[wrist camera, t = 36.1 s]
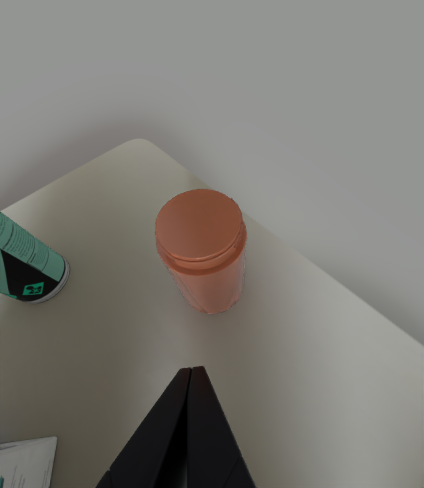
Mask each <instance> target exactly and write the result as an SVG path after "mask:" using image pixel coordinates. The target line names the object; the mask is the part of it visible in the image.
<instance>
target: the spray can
mask: <svg viewBox="0 0 424 488" xmlns="http://www.w3.org/2000/svg"><path fill="white" fill-rule="evenodd" d="M69 272H70V268H69V264H68V262H67V261H66V260H65V259H64V258H63V257H62V256H60V255H59V254H58V253H56V252H55V251H54V250H52V249H51V248H49V247H48V246H47V245H45V244H44V243H43V242H41V241H40V240H38V239H37V238H36V237H34V236H33V235H32V234H30V233H29V232H28V231H26V230H25V229H23V228H22V227H21V226H19V225H18V224H17V223H15V222H14V221H12V220H11V219H10V218H8V217H7V216H6V215H4V214H3V213H1V212H0V293H2V294H5V295H7V296H10V297H12V298H15V299H17V300H20V301H23V302H26V303H30V304H36V303H41V302H43V301H46V300H48V299H50V298H52V297H53V296H54V295H56V294H57V293H58V292H59V291H60V290H61V289H62V287H63V286H64V285H65V283H66V281H67V279H68V277H69Z"/></svg>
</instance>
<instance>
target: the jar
mask: <svg viewBox="0 0 424 488" xmlns="http://www.w3.org/2000/svg"><path fill="white" fill-rule="evenodd" d="M155 234H156V245H157V250H158V253H159V256H160V258H161V259H162V261H163V263H164V264H165V266H166V268H167V269H168V271H169V273H170V274H171V276H172V278H173V279H174V281H175V283H176V284H177V286H178V288H179V289H180V291H181V293H182V294H183V296H184V298H185V299H186V301H187V302H188V303H189V305H190V306H192V307H193V308H194V309H196V310H198V311H200V312H203V313H208V314H214V313H220V312H223V311H226V310H227V309H229V308H231V307H232V306H233V305H234V304H235V303H236V302H237V301H238V299H239V298H240V296H241V293H242V290H243V283H244V269H245V255H246V241H247V231H246V226H245V224H244V221H243V219H242V213H241V211H240V209H239V207H238V205H237V204H236V203H235V202H234V200H232V199H230V198H229V197H228V196H226V195H224V194H222V193H220V192H218V191H214V190H209V189H196V190H190V191H187V192H184V193H181V194H179V195H177V196H175V197H174V198H172V199H171V200H169V201H168V202H167V203H166V204H165V205H164V206H163V208H162V209H161V210H160V212H159V214H158V216H157V219H156V225H155Z"/></svg>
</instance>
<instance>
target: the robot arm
mask: <svg viewBox="0 0 424 488" xmlns="http://www.w3.org/2000/svg"><path fill="white" fill-rule="evenodd" d="M109 469H110V471H109V470H108V471H107V472H106V473H105V474H104V476H103V477H102V479H101V480H100V481H99V483H98V484H97V486H96V487H95V488H256V486H255V483H254V481H253V479H252V477H251V475H250V473H249V470H248V468H247V466H246V463H245V461H244V459H243V457H242V454H241V452H240V450H239V447H238V445H237V442H236V440H235V438H234V435H233V433H232V431H231V428H230V426H229V424H228V421H227V419H226V417H225V414H224V412H223V410H222V407H221V405H220V403H219V400H218V398H217V396H216V393H215V391H214V388H213V386H212V384H211V381H210V379H209V377H208V374H207V372H206V370H205V367H204V366H198V367H193V368H182V369H180V370H179V371H178V372H177V374H176V375H175V377H174V378H173V379H172V381H171V382H170V384H169V385H168V386H167V388H166V389H165V391H164V392H163V393H162V395H161V396H160V398H159V399H158V400H157V402H156V403H155V405H154V406H153V407H152V409H151V410H150V412H149V413H148V414H147V416H146V417H145V419H144V420H143V421H142V423H141V424H140V426H139V427H138V428H137V430H136V431H135V433H134V434H133V435H132V437H131V438H130V440H129V441H128V442H127V444H126V445H125V447H124V448H123V449H122V451H121V452H120V454H119V455H118V456H117V458H116V459H115V461H114V462H113V463H112V465H111V466H110V468H109Z"/></svg>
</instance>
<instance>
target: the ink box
mask: <svg viewBox="0 0 424 488" xmlns="http://www.w3.org/2000/svg"><path fill="white" fill-rule="evenodd" d="M56 445H57V437H47V438H40V439H32V440H25V441H18V442H11V443H3V444H0V488H49V485H50V479H51V473H52V467H53V461H54V456H55V450H56Z"/></svg>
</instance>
